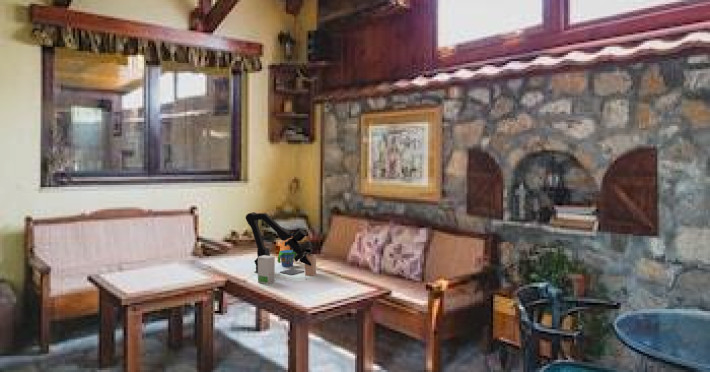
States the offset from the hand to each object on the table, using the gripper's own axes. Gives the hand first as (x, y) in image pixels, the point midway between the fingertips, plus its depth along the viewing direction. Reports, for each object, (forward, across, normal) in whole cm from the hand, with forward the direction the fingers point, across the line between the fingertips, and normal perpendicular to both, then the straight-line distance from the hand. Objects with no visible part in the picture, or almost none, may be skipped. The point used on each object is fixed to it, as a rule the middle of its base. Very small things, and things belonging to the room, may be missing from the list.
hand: (312, 264), depth 331 cm
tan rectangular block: (+4, 0, +6) cm, 7 cm away
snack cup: (-13, +19, +23) cm, 33 cm away
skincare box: (-10, -23, +20) cm, 32 cm away
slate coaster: (-6, +3, +16) cm, 17 cm away
